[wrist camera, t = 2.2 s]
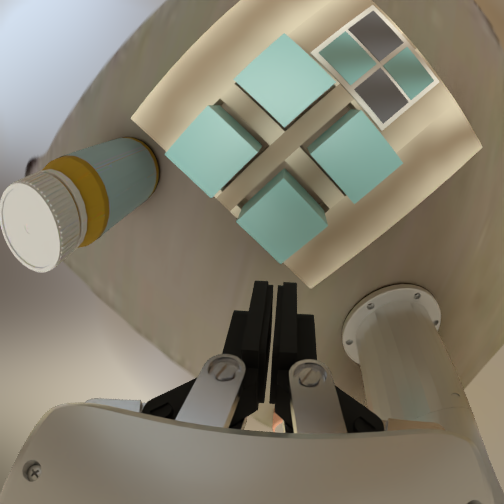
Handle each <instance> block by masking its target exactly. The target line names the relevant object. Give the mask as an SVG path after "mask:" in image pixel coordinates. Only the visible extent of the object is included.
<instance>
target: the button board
mask: <svg viewBox="0 0 504 504" xmlns="http://www.w3.org/2000/svg"><path fill="white" fill-rule="evenodd" d="M284 33H285V34H286V35H287V36H288V37H290V38H291V39H292V40H293V41H294V42H295V43H296V44H297V45H299V46H300V47H301V48H302V49H303V50H304V51H305V52H306V53H307V54H308V55H309V56H310V57H311V58H312V59H314V60H315V61H316V62H317V63H318V64H319V65H320V66H321V67H322V68H323V69H324V70H325V71H326V72H327V73H328V74H329V75H330V76H331V77H332V78H333V79H334V80H335V82H336V83H335V84H333V85H332V86H331V87H330V88H329V89H328V90H326V91H325V92H324V93H323V94H322V95H321V96H319V97H318V98H317V99H316V100H315V101H314V102H313V103H311V104H310V105H309V106H308V107H307V108H306V109H305V110H304V111H302V112H301V113H300V114H299V115H298V116H297V117H296V118H295V119H293V120H292V121H291V122H290V123H289V124H288V125H287V126H286V127H285V128H284V127H283V126H282V125H281V124H280V123H279V122H278V121H277V120H276V119H275V118H274V117H273V116H272V115H271V114H270V113H269V112H268V111H267V110H266V109H265V108H264V107H263V106H262V105H261V104H260V103H258V102H257V101H256V100H255V99H254V98H253V97H252V96H251V95H250V94H249V93H248V92H247V91H246V90H244V89H243V88H242V87H241V86H240V85H239V84H238V83H237V82H236V81H234V80H233V79H234V78H235V77H236V76H237V75H238V74H239V73H240V72H241V71H242V70H244V69H245V68H246V67H247V66H248V65H249V64H250V63H251V62H252V61H253V60H254V59H255V58H256V57H257V56H259V55H260V54H261V53H262V52H263V51H264V50H265V49H266V48H268V47H269V46H270V45H271V44H272V43H273V42H274V41H276V40H277V39H278V38H279V37H280V36H281V35H283V34H284ZM208 105H220V106H221V107H222V108H223V109H224V110H225V111H226V112H227V113H228V114H230V115H231V116H232V117H233V118H234V119H235V120H236V121H237V122H238V123H239V124H240V125H241V126H242V127H243V128H244V129H246V130H247V131H248V132H249V133H250V134H251V135H252V136H253V137H254V138H255V139H256V140H257V141H258V142H259V143H260V144H261V145H262V147H261V149H260V150H259V152H258V153H257V154H256V155H255V156H254V157H253V158H252V159H251V160H250V161H249V162H248V163H247V164H246V165H244V166H243V167H242V168H241V169H240V170H239V171H238V172H237V173H236V174H235V175H234V176H233V177H232V178H231V179H230V180H229V181H228V182H227V183H226V184H225V185H224V186H223V187H222V188H221V189H220V190H219V191H218V192H217V193H216V194H215V195H214V197H215V198H216V199H217V200H219V201H220V202H221V203H222V204H223V205H224V206H225V207H226V208H227V209H228V210H229V211H230V212H231V213H232V214H233V215H234V216H235V217H236V218H238V216H239V214H240V212H241V209H242V207H243V206H244V205H245V204H246V203H247V202H248V201H249V200H250V199H251V198H252V197H253V196H254V195H255V194H256V193H258V192H259V191H260V190H261V189H262V188H263V187H264V186H265V185H266V184H267V183H268V182H269V181H271V180H272V179H273V178H274V177H275V176H276V175H277V174H278V173H279V172H280V171H281V170H283V169H284V168H285V169H286V170H287V171H288V172H289V173H290V174H291V175H292V176H293V177H294V178H295V179H296V180H297V182H298V183H299V184H300V185H301V186H302V187H303V188H304V189H305V190H306V191H307V192H308V193H309V194H310V195H311V196H312V197H313V199H314V200H315V201H316V202H317V203H318V204H319V205H320V206H321V207H322V208H323V210H324V213H325V216H326V220H327V223H328V227H326V228H325V229H324V230H323V231H321V232H320V233H319V234H318V235H316V236H315V237H314V238H313V239H312V240H310V241H309V242H308V243H307V244H305V245H304V246H303V247H302V248H300V249H299V250H298V251H297V252H295V253H294V254H293V255H292V256H290V257H289V258H288V259H287V260H285V261H284V262H283V263H284V264H285V265H286V266H287V267H289V268H290V269H291V270H292V271H293V272H294V273H295V274H296V275H297V276H298V277H299V278H300V279H301V280H302V281H303V282H304V283H305V284H306V285H307V286H308V287H309V288H310V289H311V288H312V287H314V286H315V285H317V284H318V283H319V282H321V281H322V280H323V279H325V278H326V277H327V276H329V275H330V274H331V273H333V272H334V271H335V270H337V269H338V268H339V267H341V266H342V265H343V264H345V263H346V262H347V261H349V260H350V259H351V258H353V257H354V256H355V255H356V254H358V253H359V252H360V251H362V250H363V249H364V248H365V247H367V246H368V245H369V244H371V243H372V242H373V241H374V240H376V239H377V238H378V237H379V236H381V235H382V234H383V233H384V232H386V231H387V230H388V229H389V228H391V227H392V226H393V225H394V224H395V223H397V222H398V221H399V220H400V219H402V218H403V217H404V216H405V215H406V214H408V213H409V212H410V211H411V210H412V209H414V208H415V207H416V206H417V205H418V204H420V203H421V202H422V201H423V200H424V199H425V198H427V197H428V196H429V195H430V194H431V193H432V192H434V191H435V190H436V189H437V188H438V187H439V186H440V185H442V184H443V183H444V182H445V181H446V180H447V179H448V178H449V177H451V176H452V175H453V174H454V173H455V172H456V171H457V170H458V169H459V168H461V167H462V166H463V165H464V164H465V163H466V162H467V161H468V160H469V159H470V158H471V157H473V156H474V155H475V154H476V153H477V152H478V151H479V150H480V149H481V148H482V145H481V143H480V141H479V140H478V138H477V136H476V134H475V132H474V131H473V129H472V127H471V125H470V124H469V122H468V120H467V119H466V117H465V115H464V114H463V112H462V110H461V109H460V107H459V106H458V104H457V103H456V101H455V99H454V98H453V96H452V95H451V93H450V92H449V90H448V89H447V88H446V86H445V85H444V83H443V82H442V80H441V79H440V78H439V76H438V75H437V74H436V72H435V71H434V70H433V68H432V67H431V66H430V64H429V63H428V62H427V60H426V59H425V58H424V57H423V55H422V54H421V53H420V52H419V50H418V49H417V48H416V47H415V46H414V44H413V43H412V42H411V41H410V40H409V39H408V37H407V36H406V35H405V34H404V33H403V32H402V31H401V30H400V29H399V27H398V26H397V25H396V24H395V23H394V22H393V21H392V20H391V19H390V18H389V17H388V16H387V15H386V14H385V13H384V12H383V11H382V10H381V9H380V8H379V7H378V6H377V5H376V4H375V3H374V2H373V1H372V0H240V1H239V2H238V3H237V4H236V5H234V6H233V7H232V8H231V9H230V10H229V11H228V12H227V13H225V14H224V15H223V16H222V17H221V18H220V19H219V20H218V21H217V22H216V23H215V24H214V25H213V26H211V27H210V28H209V29H208V30H207V31H206V32H205V33H204V34H203V35H202V36H201V37H200V38H199V39H198V40H197V41H196V42H195V43H194V44H193V45H192V46H191V47H190V49H189V50H188V51H187V52H186V53H185V54H184V55H183V56H182V57H181V58H180V59H179V60H178V61H177V62H176V64H175V65H174V66H173V67H172V68H171V69H170V70H169V71H168V73H167V74H166V75H165V76H164V77H163V78H162V80H161V81H160V82H159V83H158V84H157V86H156V87H155V88H154V89H153V90H152V92H151V93H150V94H149V95H148V97H147V98H146V99H145V100H144V102H143V103H142V104H141V105H140V107H139V108H138V109H137V111H136V112H135V113H134V115H133V116H132V117H131V119H132V120H133V121H134V122H135V123H136V124H137V125H138V126H139V127H140V128H142V129H143V130H144V131H145V132H146V133H147V134H148V135H149V136H150V137H151V138H152V139H153V140H154V141H156V142H157V143H158V144H159V145H160V146H161V147H162V148H163V149H164V150H165V151H166V152H167V151H168V150H169V148H170V147H171V146H172V145H173V144H174V143H175V141H176V140H177V139H178V138H179V137H180V136H181V134H182V133H183V132H184V131H185V130H186V129H187V128H188V126H189V125H190V124H191V123H192V122H193V121H194V120H195V119H196V118H197V116H198V115H199V114H200V113H201V112H202V111H203V110H204V109H205V108H206V107H207V106H208ZM351 109H354V110H362V111H363V112H364V114H365V115H366V116H367V117H368V118H369V120H370V121H371V122H372V123H373V124H374V126H375V127H376V128H377V129H378V131H379V132H380V133H381V134H382V136H383V137H384V138H385V139H386V141H387V142H388V143H389V145H390V146H391V147H392V148H393V150H394V151H395V152H396V154H397V155H398V156H399V158H400V159H401V161H402V162H403V164H402V165H401V166H399V167H398V168H397V169H396V170H395V171H394V172H392V173H391V174H390V175H389V176H388V177H386V178H385V179H384V180H383V181H382V182H381V183H379V184H378V185H377V186H376V187H375V188H373V189H372V190H371V191H370V192H369V193H367V194H366V195H365V196H364V197H363V198H361V199H360V200H359V201H358V202H357V203H355V204H354V203H353V202H352V201H351V200H350V199H349V197H348V196H347V195H346V194H345V193H344V192H343V190H342V189H341V188H340V187H339V186H338V185H337V183H336V182H335V181H334V180H333V179H332V178H331V177H330V176H329V174H328V173H327V172H326V171H325V170H324V169H323V168H322V167H321V166H320V164H319V163H318V162H317V161H316V160H315V159H314V158H313V157H312V156H311V155H310V153H309V151H308V148H307V147H308V146H309V145H310V144H312V143H313V142H314V141H315V140H316V139H317V138H318V137H319V136H321V135H322V134H323V133H324V132H325V131H326V130H327V129H329V128H330V127H331V126H332V125H333V124H334V123H336V122H337V121H338V120H339V119H340V118H341V117H342V116H344V115H345V114H346V113H347V112H348V111H349V110H351Z"/></svg>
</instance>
